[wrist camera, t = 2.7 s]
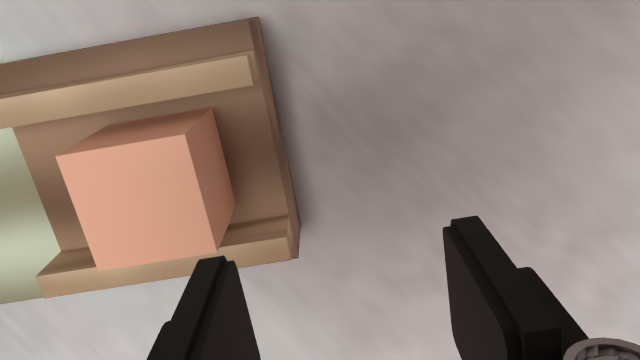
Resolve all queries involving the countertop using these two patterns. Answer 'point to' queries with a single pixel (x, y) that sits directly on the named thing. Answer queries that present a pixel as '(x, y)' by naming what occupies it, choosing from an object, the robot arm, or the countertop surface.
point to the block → (150, 189)
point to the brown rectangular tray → (127, 105)
